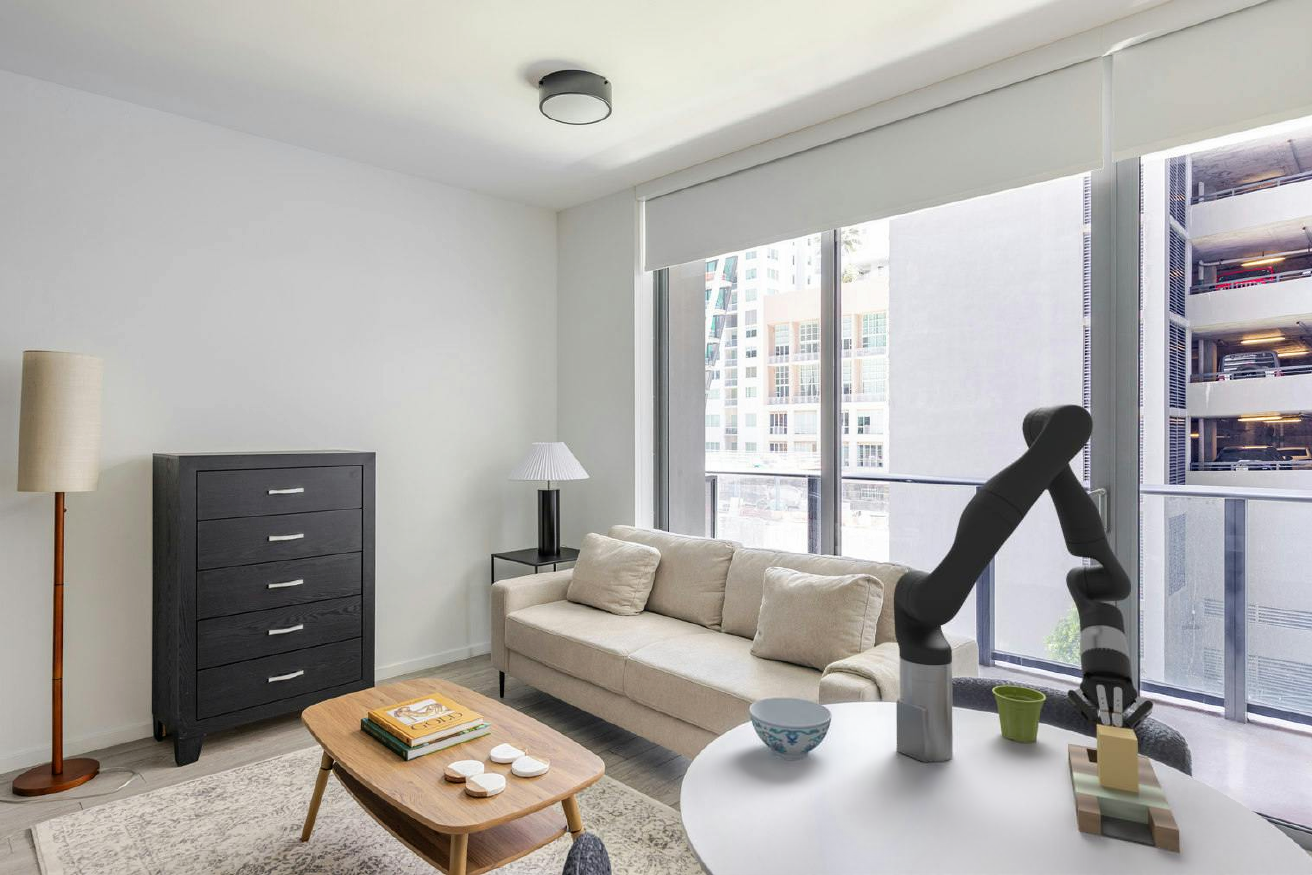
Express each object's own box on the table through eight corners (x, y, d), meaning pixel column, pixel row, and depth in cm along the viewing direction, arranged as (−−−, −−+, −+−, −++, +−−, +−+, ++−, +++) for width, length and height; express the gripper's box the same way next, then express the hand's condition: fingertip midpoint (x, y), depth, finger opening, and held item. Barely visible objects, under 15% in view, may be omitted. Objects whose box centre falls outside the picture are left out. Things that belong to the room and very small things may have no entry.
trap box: (1068, 760, 128) (1068, 743, 128) (1148, 774, 122) (1147, 756, 122) (1078, 830, 103) (1078, 809, 103) (1179, 852, 98) (1179, 830, 98)
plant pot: (1056, 747, 134) (1055, 701, 134) (1006, 746, 134) (1006, 700, 134) (1030, 728, 143) (1030, 685, 143) (984, 728, 143) (983, 685, 144)
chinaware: (802, 732, 140) (802, 693, 140) (848, 762, 126) (848, 719, 126) (735, 743, 135) (735, 702, 135) (775, 775, 121) (775, 730, 121)
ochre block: (1097, 773, 116) (1096, 724, 116) (1133, 779, 113) (1133, 729, 114) (1100, 785, 111) (1099, 734, 111) (1138, 792, 109) (1137, 740, 109)
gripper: (1063, 641, 127) (1067, 732, 116) (1151, 651, 121) (1165, 748, 110) (1061, 663, 132) (1066, 753, 120) (1147, 674, 126) (1160, 770, 114)
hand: (1113, 751), depth 115 cm, fingers closed
